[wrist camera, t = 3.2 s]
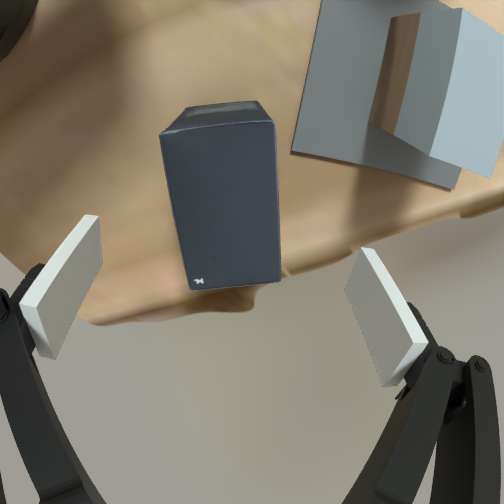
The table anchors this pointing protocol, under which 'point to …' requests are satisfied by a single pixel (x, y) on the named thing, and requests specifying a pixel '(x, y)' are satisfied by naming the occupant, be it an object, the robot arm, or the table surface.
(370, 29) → the mat
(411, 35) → the block bottom
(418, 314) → the robot arm
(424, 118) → the block top
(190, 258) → the small box
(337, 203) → the table surface
